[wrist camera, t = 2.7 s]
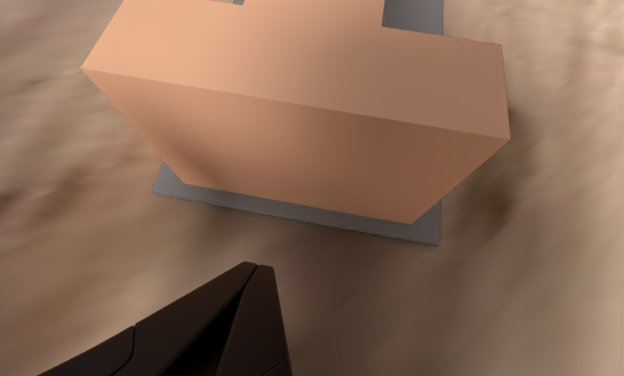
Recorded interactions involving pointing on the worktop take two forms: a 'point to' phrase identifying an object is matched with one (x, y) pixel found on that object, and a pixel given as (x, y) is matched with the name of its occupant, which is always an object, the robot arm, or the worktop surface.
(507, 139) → the t block
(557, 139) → the worktop surface
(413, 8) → the mat
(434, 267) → the worktop surface
